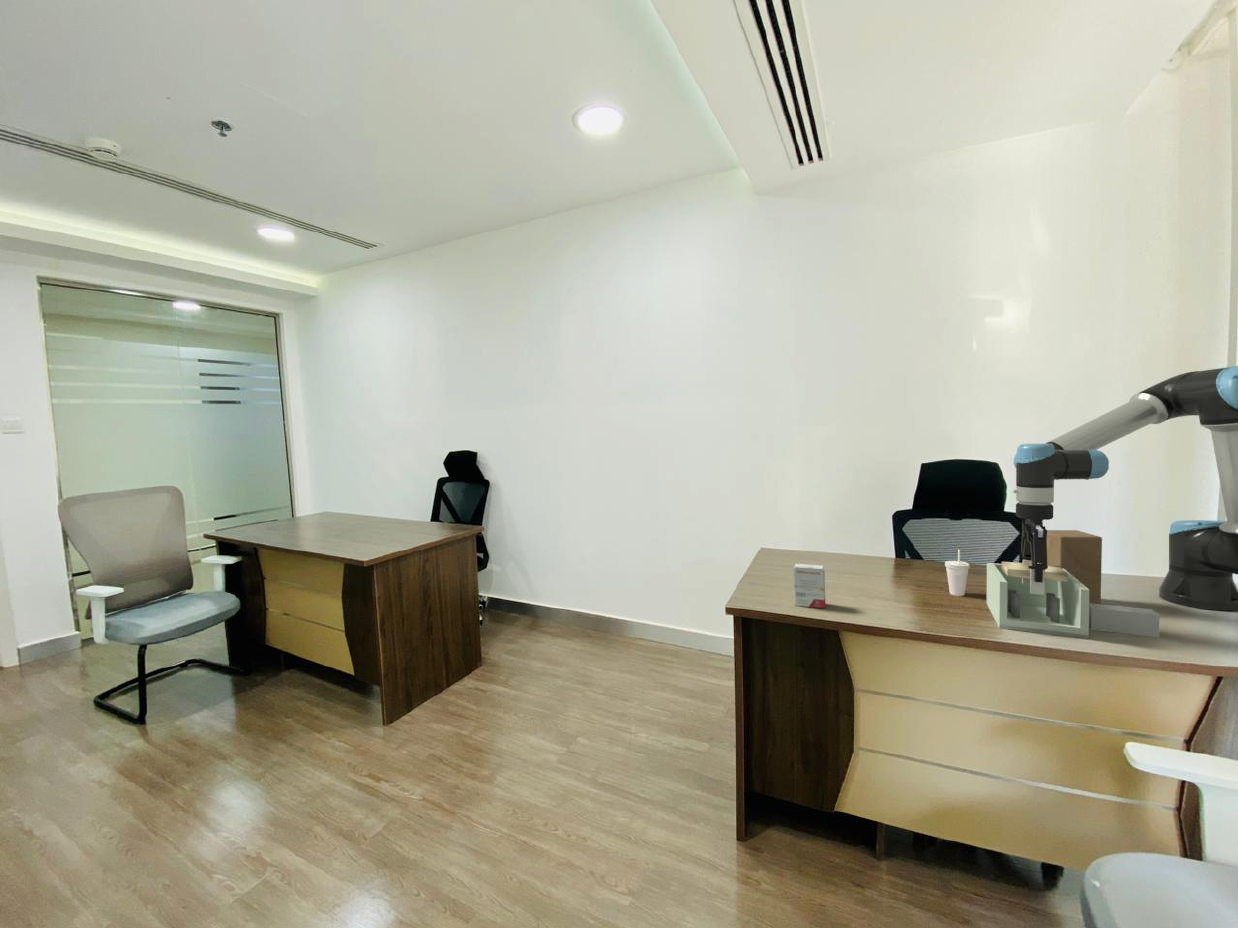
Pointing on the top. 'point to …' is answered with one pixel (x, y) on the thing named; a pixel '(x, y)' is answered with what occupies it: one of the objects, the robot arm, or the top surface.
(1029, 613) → the light green open box
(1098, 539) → the wooden block
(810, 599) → the ink box
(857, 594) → the top surface
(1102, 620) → the block
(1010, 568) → the shelf board
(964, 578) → the smoothie
